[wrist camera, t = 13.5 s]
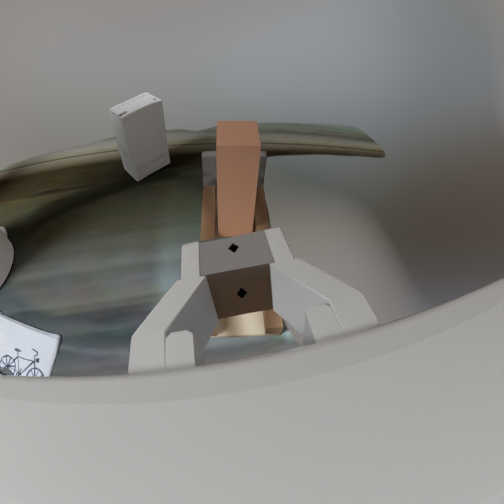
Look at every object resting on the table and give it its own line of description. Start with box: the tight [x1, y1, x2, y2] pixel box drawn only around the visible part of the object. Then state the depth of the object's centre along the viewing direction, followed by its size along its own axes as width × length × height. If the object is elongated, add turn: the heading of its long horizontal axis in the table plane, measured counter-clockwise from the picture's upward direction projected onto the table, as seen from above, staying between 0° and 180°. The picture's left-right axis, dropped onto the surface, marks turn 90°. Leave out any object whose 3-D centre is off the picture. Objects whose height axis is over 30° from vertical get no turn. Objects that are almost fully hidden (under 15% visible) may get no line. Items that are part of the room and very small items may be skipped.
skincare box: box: [109, 92, 170, 182], centre depth 49 cm, size 8×6×15 cm
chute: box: [201, 151, 283, 338], centre depth 41 cm, size 10×26×9 cm, turn 4°
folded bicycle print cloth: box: [0, 312, 61, 377], centre depth 27 cm, size 19×20×2 cm
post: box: [216, 121, 261, 237], centre depth 40 cm, size 5×6×16 cm
